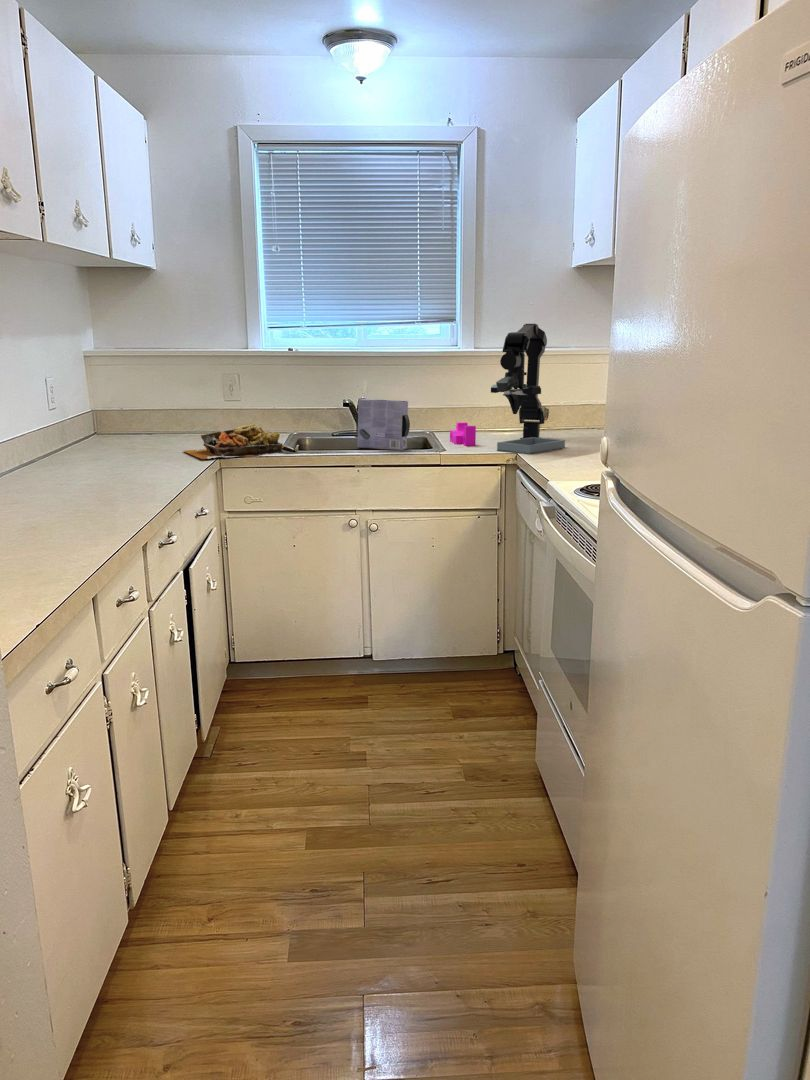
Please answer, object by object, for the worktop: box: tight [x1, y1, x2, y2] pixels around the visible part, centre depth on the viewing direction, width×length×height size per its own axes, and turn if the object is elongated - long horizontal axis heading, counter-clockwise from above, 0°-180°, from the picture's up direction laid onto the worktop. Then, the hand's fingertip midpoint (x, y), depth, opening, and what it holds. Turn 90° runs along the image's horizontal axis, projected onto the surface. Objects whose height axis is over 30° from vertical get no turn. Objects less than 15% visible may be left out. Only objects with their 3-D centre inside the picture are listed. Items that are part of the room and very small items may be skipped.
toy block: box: [449, 421, 477, 447], centre depth 302 cm, size 15×6×8 cm, turn 10°
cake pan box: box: [357, 398, 411, 451], centre depth 287 cm, size 19×5×18 cm, turn 65°
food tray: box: [183, 423, 300, 460], centre depth 283 cm, size 35×26×11 cm
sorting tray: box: [496, 437, 566, 455], centre depth 284 cm, size 21×14×3 cm, turn 135°
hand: (514, 414), depth 285 cm, fingers closed
